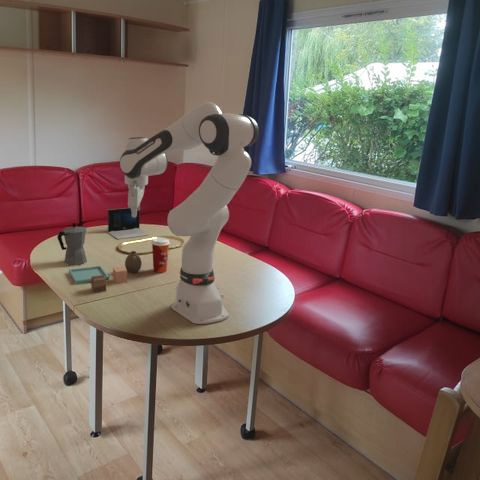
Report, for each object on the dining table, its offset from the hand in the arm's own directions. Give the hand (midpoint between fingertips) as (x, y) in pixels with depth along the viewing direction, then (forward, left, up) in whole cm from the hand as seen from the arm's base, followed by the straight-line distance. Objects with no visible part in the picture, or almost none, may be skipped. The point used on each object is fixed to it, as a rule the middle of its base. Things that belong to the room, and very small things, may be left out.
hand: (135, 213), depth 190 cm
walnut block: (-6, +16, -28) cm, 33 cm away
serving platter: (+38, -21, -28) cm, 52 cm away
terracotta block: (0, +6, -28) cm, 28 cm away
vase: (+8, -2, -28) cm, 29 cm away
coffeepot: (+26, +19, -28) cm, 43 cm away
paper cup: (+5, -13, -28) cm, 31 cm away
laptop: (+60, -15, -28) cm, 68 cm away
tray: (+8, +17, -28) cm, 34 cm away
